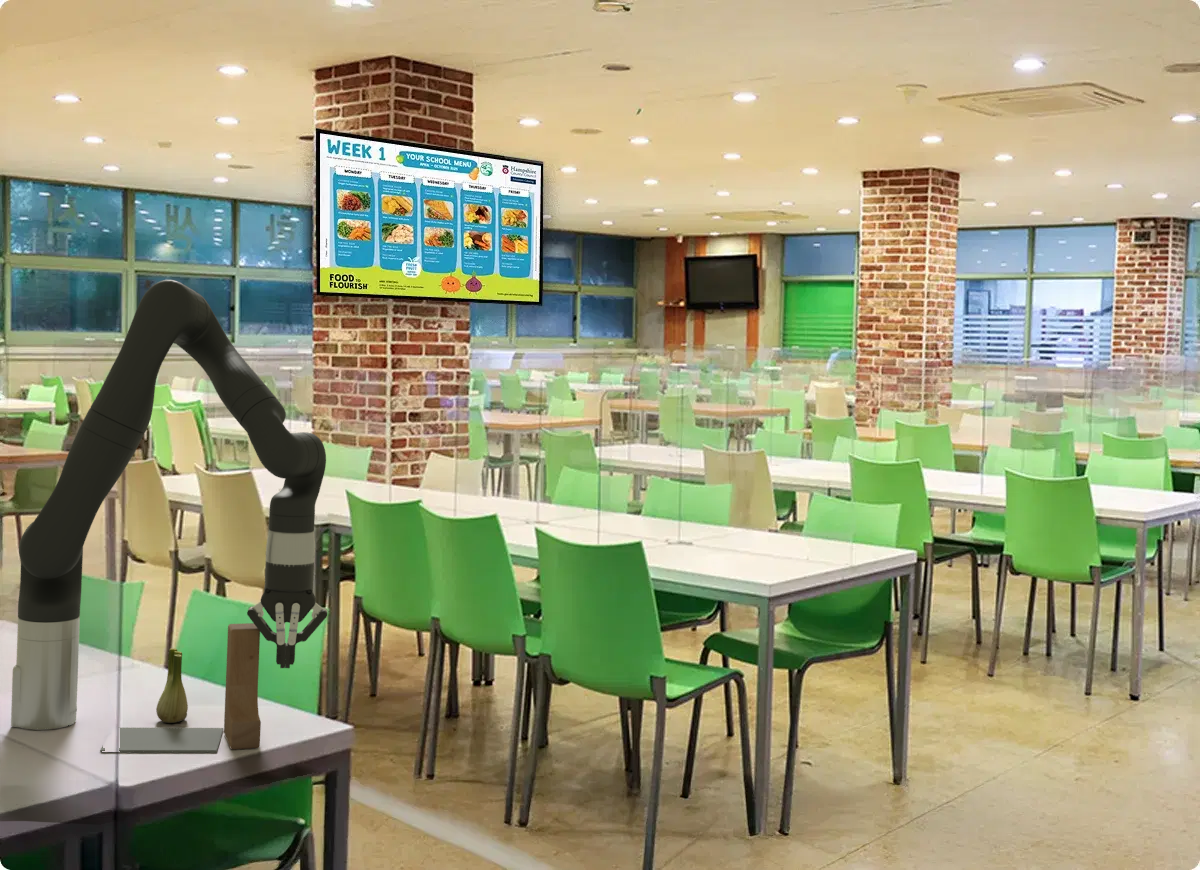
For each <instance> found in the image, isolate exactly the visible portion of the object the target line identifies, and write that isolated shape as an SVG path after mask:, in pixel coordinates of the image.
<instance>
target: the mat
mask: <svg viewBox="0 0 1200 870" xmlns="http://www.w3.org/2000/svg"><path fill="white" fill-rule="evenodd" d="M119 728H120V748H119V751H120V753H119V754H122V753H124V754H128V753H129V754H132V753H133V754H134V753H140V754H141V753H142V754H144V753H145V754H146V753H148V754H149V753H151V754H154V753H155V754H157V753H158V754H163V753H166V754H168V753H169V754H170V753H171V754H173V753H174V754H175V753H176V754H177V753H180V754H181V753H183V754H185V753H187V754H189V753H193V754H194V753H195V754H197V753H200V754H202V753H205V754H206V753H207V754H209V753H213V754H215V753H216V754H217V753H218V749H219V747H220V743H221V741H222V740H221V739H222V736H223V733H224V727H119ZM102 751H105V748H103V745H102V746H101V747H100V750H99V753H100V752H102Z"/></svg>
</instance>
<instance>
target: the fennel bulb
mask: <svg viewBox="0 0 1200 870" xmlns="http://www.w3.org/2000/svg"><path fill="white" fill-rule="evenodd" d="M182 661H183V652H182V651H179V650H178V649H177V648H174V647H172V648H169V650H168V664H167V665H168V667H167V676H166V677H167V678H166V683H165V684H164V685H165V686H164V688H163V691H162V693H161V695H160V697H159V700H158V702H157V703H156V704H157V705H156V708H155V709H156V715H157V717H158V719H159V720H160V721H161V722H163V723H167V724H168V723H169V724H172V723H173V724H174V723H179V722H182V721H185V719H186V718H187V717H188V711H189V710H188V708H189V705H188V698H187V694H186V690H185V687H184V683H183V679H182V669H183V668H182V666H183V662H182Z"/></svg>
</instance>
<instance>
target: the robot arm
mask: <svg viewBox="0 0 1200 870" xmlns="http://www.w3.org/2000/svg"><path fill="white" fill-rule="evenodd" d="M173 344H176V345H177V346H178V347H179V348H181V349H182V350H183V351H184V352H185V353H187V354H188V356H190V357H191V358H192V359H193V360H194V361H195V362H196V363H197V364H198V365H199V366H200V368H202V370H203V371H204V372H205V374H206V375H207V376H208V378H209V380H210V381H211V384H212V386H213V388H214V390H215V391H216V393H217V396H218V397H219V399H220V401H222V403H223V405H224V407H226V409H227V411H228V412H229V413H230V414H231V415H232V417H234V419H235V420H236V421H237V422H238V424H239V425H240V426H241V428H242V429H244V431H245V432H246V433H247V435H248V438H249V441H250V443H251V445H252V447H253V449H254V452H255V454H256V456H257V457H258V460H259V461H260V463H261V464H262V466H263V467H264V468H265V470H266V471H268V472H269V473H270V474H271V475H273V476H274V477H276V478H280V479H284V482H283V485H282V489H281V490H280V491H279V492H277V493H275V494H274V495H273V496H272V497H271V498H270V501H269V502H270V503H269V513H268V533H267V539H266V546H265V547H266V548H265V549H266V550H265V565H264V566H265V568H264V586H263V587H264V589H263V593H262V594H261V598H260V601H259V602H258V603H256V604H255V605H253V606H249V607H248V609H247V612H246V613H247V614H246V615H247V616H248V618H249V619H250V621H251V622H252V623H254V624H255V626H256V627H257V628H258V629H259V631H260V634H262V636H263V638H264V639H265V640H266V641H268V642H273V643H275V645H276V653H275V654H276V658H275V659H276V660H275V662H276V665H278V666H279V665H280V669H290V667H291V666H293V665H294V663H295V661H296V646H297V644H298V643H301V642H302V643H304V642H306V641H307V640H308V639H309V638H310V637H311V635H313V633H314V632H315V631H316V630H317V629H318V628H319V627H320V626H321V624H322V623H323V622H324V621H325V620H326V618H327V616H328V609H327V608H325V607H322V606H321V605H319V603H317V599H316V596H315V594H314V582H315V581H314V580H315V579H314V578H315V557H316V551H315V550H316V541H315V540H316V539H315V521H316V520H315V519H316V518H315V516H316V503H317V500H318V497H319V493H320V492H321V491H320V490H321V487H322V483H323V479H324V475H325V471H326V466H327V465H326V464H327V454H326V449H325V446H324V443H323V441H322V440H321V439H320V438H319V437H318V436H317V435H316V434H314V433H312V432H308V431H307V432H305V431H304V432H290V431H289V430H288V429H287V427H286V426H285V424H284V422H285V420H286V417H287V414H286V409H285V407H284V406H283V404H282V403H281V402H280V400H279V399H278V398H277V397H276V395H274V393H273V392H272V391H271V389H270V388H269V387H268V386H267V385H266V384H265V382H264V381H263V380H262V379H261V378H260V377H259V375H257V373H256V372H255V371H254V370H253V368H252V367H251V366H250V365H249V364H248V363H247V361H245V359H244V358H243V357H242V356H241V354H240V353H239V352H238V351H237V349H236V347H235V346H234V345H233V343H232V342H231V340H230V339H229V337H228V335H227V333H226V332H225V330H224V329H223V328H222V326H221V324H220V322H219V320H218V318H217V316H216V315H215V312H214V311H213V310H212V308H211V306H210V304H209V303H208V301H207V300H206V299H205V297H203V296H202V294H200V293H198V292H197V291H195V290H194V289H192V288H190V287H189V286H187V285H185V284H183V283H182V282H180V281H177V280H174V279H164V280H160V281H158V282H156V283H154V284H152V285H151V286H150V288H148V290H147V291H145V293H144V295H143V296H142V298H141V300H140V301H139V303H138V306H137V309H136V311H135V313H134V316H133V318H132V321H131V323H130V325H129V328H128V331H127V333H126V336H125V339H124V340H123V343H122V346H121V348H120V351H119V353H118V354H117V356H116V358H115V361H114V362H113V364H112V366H111V368H110V369H109V372H108V373H107V376H106V377H105V380H104V382H103V384H102V386H101V388H100V389H99V392H98V393H97V395H96V397H95V399H94V400H93V402H92V403H91V405H90V408H89V409H88V410H87V412H86V414H85V417H84V418H83V420H82V422H81V424H80V426H79V428H78V430H77V433H76V434H75V437H74V439H73V441H72V443H71V446H70V448H69V451H68V453H67V456H66V459H65V461H64V464H63V467H62V470H61V472H60V475H59V478H58V480H57V483H56V485H55V487H54V489H53V491H52V492H51V495H50V496H49V497H48V499H47V501H46V502H45V504H44V505H43V506H42V509H41V510H40V512H39V514H38V515H37V516H36V517H35V519H34V521H32V522H31V523H30V524H29V525H28V526H27V527H26V529H25V530H24V532H23V534H22V535H21V538H20V540H19V543H18V555H19V560H20V576H19V577H20V578H19V579H20V580H19V581H20V583H19V590H18V591H19V594H18V595H19V596H18V601H17V632H16V633H17V636H16V637H17V638H16V641H17V642H16V659H15V660H16V664H15V665H14V666H13V667H12V668H13V669H12V679H11V681H12V682H11V689H12V690H11V709H10V710H11V713H10V715H11V716H10V727H11V726H12V727H11V728H20V729H21V728H22V729H27V730H36V731H37V730H42V731H43V730H55V729H60V728H65V727H68V725H69V726H71V725H74V724H75V723H74V722H75V721H76V722H77V712H78V711H77V710H78V706H77V705H78V704H77V703H78V678H79V677H78V676H79V670H78V669H79V655H80V654H79V651H80V649H79V648H80V624H81V623H80V622H81V619H80V617H81V601H82V600H81V599H82V585H83V584H82V583H83V581H82V578H83V559H84V558H83V556H84V545H85V542H86V540H87V537H88V534H89V532H90V529H91V527H92V524H93V522H94V520H95V517H96V515H97V513H98V511H99V509H100V507H101V505H102V504H103V502H104V501H105V498H106V497H107V496H108V494H109V493H110V491H112V489H113V487H115V485H116V483H117V481H118V480H119V479H120V477H121V475H122V474H123V472H124V471H125V469H126V468H127V466H128V464H129V463H130V461H131V459H132V457H133V456H134V455H135V452H136V451H137V448H138V447H139V445H140V443H141V441H142V439H143V438H144V436H145V433H146V431H147V430H148V427H149V425H150V421H151V418H152V413H153V409H154V401H155V392H156V384H157V378H158V375H159V372H160V368H161V367H162V365H163V363H164V361H165V358H166V357H167V356H168V355H167V354H168V353H169V351H170V349H171V348H172V347H173ZM263 609H264V610H265V612H266V613H267V614H268V615H269V617H270V618H271V620H272V621H273V622H275V625H276V626H275V630H276V632H274V630H273V629H272V628H271V627H270V625H269V624H268V623H267V621H266V620H265V618H264V613H265V612H264V610H263ZM311 610H312V612H311ZM310 612H311V618H312V619H311V620H310V621H309V622H308V624H306V626H305V627H304V628H303V629H302V631H300V632H298V626H299V623H300V622H302V621H304V619H305V618H306V616H307V615H308V614H309V613H310ZM286 623H289V629H288V637H287V642H286Z"/></svg>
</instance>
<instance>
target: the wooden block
mask: <svg viewBox="0 0 1200 870" xmlns="http://www.w3.org/2000/svg"><path fill="white" fill-rule="evenodd" d="M260 639H261V632H260V631H259V629H258V628H257V627H256V626H255V624H254V623H253V622H252V623H248V622H247V623H229V624H228V626H227V640H226V641H227V644H226V645H227V647H226V669H225V670H226V671H225V674H226V675H225V693H224V694H225V696H224V720H223V721H224V723H223V724H224V725H223V733H224V736H225V739H226V741H227V743H228V746H229V748H230V749H231V750H235V751H236V750H249V749H252V748H254V749H260V746H261V729H262V728H261V727H262V726H261V723H262V722H261V718H260V715H259V701H258V699H259V692H258V691H259V690H258V689H259V671H260V670H259V668H260V667H259V665H260V643H261V641H260Z"/></svg>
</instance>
